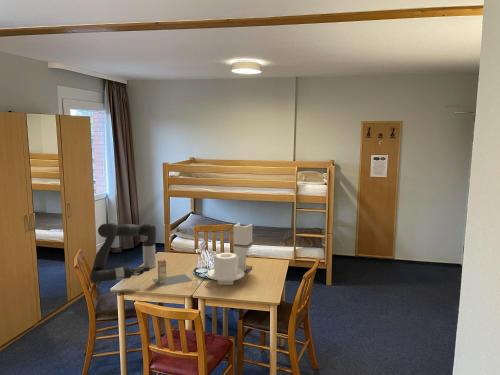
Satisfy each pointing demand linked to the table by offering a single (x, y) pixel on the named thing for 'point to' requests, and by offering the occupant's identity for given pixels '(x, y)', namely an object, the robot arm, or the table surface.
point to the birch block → (162, 271)
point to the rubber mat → (173, 280)
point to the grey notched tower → (242, 245)
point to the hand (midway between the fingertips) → (149, 269)
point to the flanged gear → (226, 269)
